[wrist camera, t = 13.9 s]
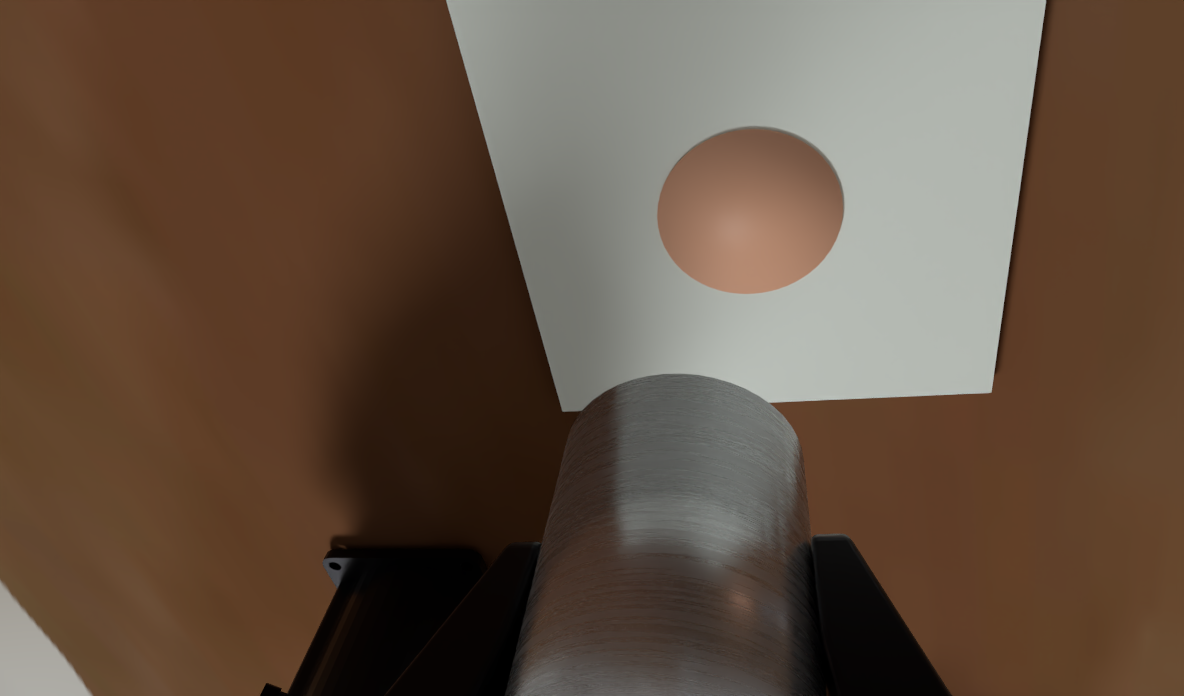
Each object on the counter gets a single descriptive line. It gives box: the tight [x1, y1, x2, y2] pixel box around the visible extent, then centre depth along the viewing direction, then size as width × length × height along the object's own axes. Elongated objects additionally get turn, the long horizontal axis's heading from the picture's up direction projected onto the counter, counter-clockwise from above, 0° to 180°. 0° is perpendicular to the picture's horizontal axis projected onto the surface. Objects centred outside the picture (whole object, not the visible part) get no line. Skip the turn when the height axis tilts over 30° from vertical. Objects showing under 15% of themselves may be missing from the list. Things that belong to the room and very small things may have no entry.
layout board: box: [446, 0, 1046, 412], centre depth 16 cm, size 26×16×1 cm, turn 101°
